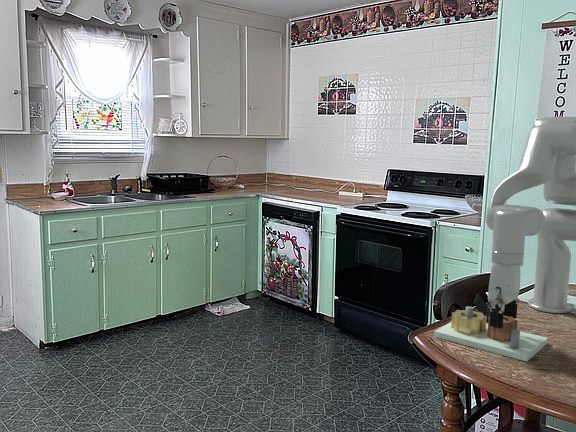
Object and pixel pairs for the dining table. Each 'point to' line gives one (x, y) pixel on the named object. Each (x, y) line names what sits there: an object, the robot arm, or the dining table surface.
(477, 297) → the dark grey angled bracket
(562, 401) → the dining table surface
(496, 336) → the rust gear
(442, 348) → the dining table surface
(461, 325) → the brass gear
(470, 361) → the dining table surface
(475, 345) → the gear board
